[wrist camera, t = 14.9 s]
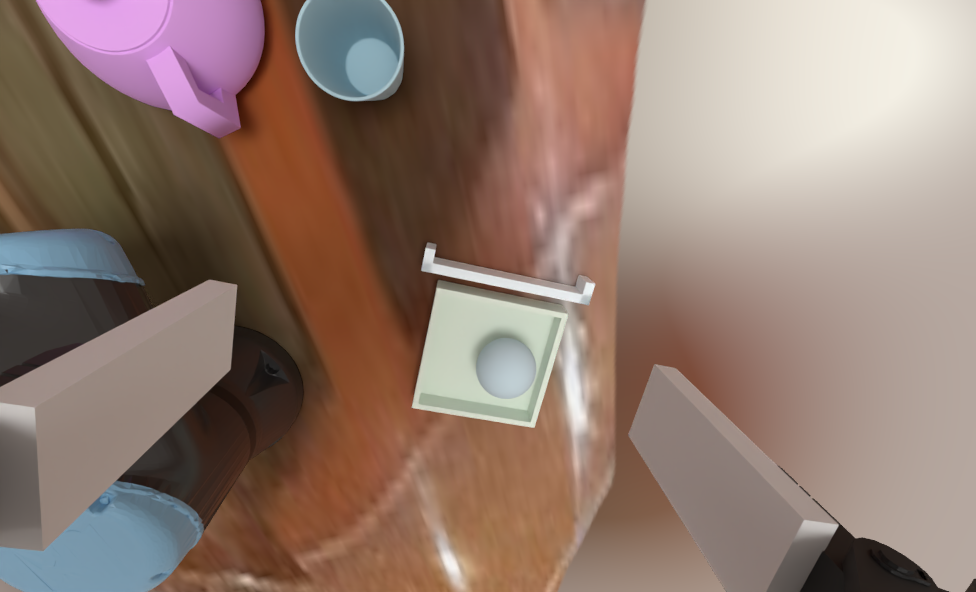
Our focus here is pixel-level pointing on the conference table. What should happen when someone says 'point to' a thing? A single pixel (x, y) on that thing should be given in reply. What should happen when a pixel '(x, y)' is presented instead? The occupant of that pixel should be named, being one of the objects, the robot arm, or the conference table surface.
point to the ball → (506, 368)
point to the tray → (461, 337)
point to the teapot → (168, 51)
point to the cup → (351, 48)
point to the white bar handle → (508, 278)
